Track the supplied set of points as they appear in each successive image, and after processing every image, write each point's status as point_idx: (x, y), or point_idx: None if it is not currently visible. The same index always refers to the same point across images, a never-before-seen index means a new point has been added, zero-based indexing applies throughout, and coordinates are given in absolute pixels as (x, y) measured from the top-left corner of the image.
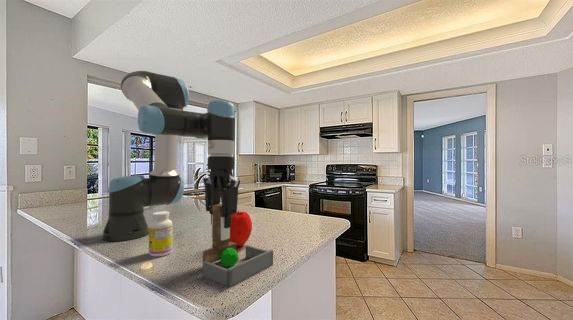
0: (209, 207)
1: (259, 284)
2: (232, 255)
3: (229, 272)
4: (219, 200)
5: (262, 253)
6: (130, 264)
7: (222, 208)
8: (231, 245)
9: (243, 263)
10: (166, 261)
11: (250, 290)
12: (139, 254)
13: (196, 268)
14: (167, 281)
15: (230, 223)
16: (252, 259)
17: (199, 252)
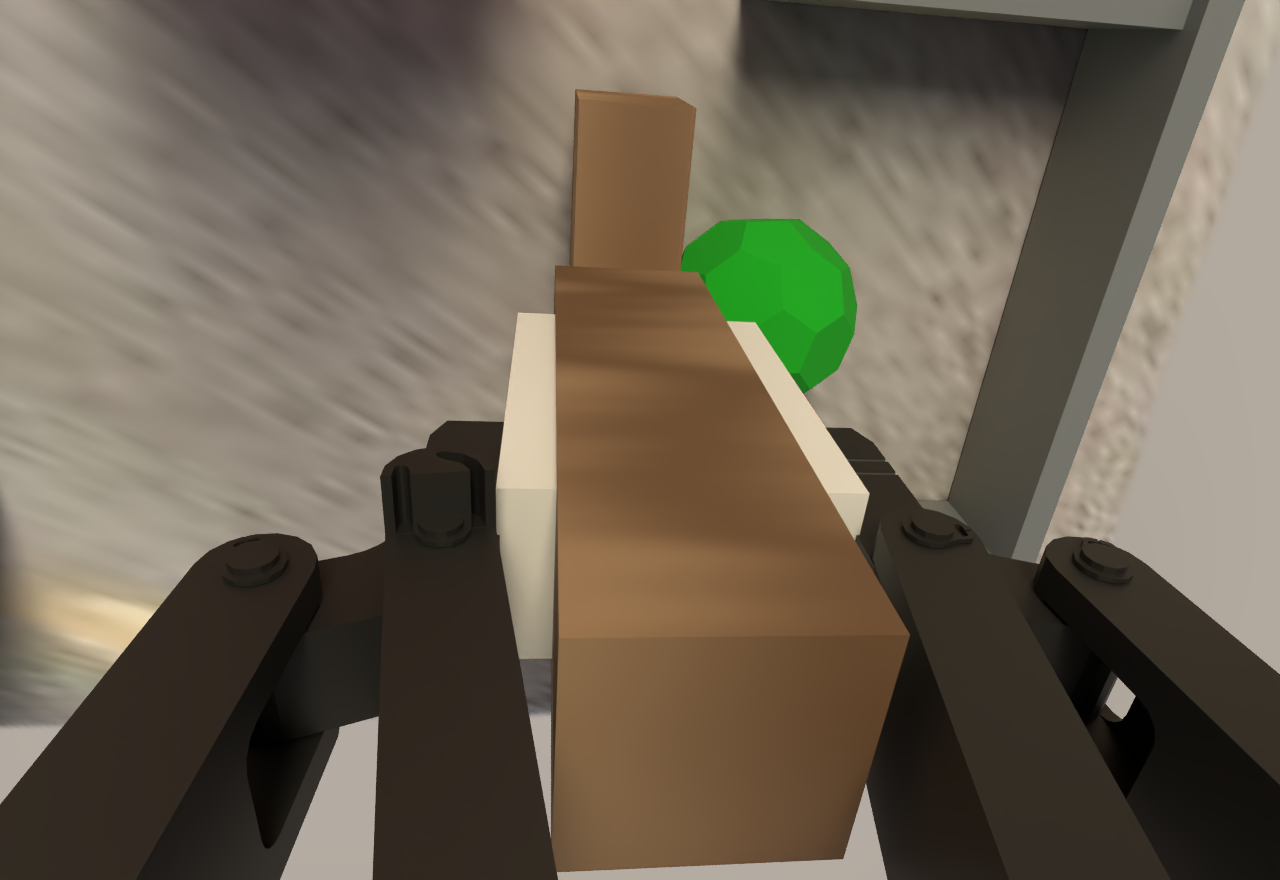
0: (320, 743)
1: (1138, 388)
2: (842, 357)
3: None
4: (541, 795)
5: (1150, 166)
6: (16, 692)
7: (879, 789)
8: (686, 204)
9: (1069, 463)
10: (161, 522)
11: (1110, 475)
12: None
13: None
14: (546, 670)
15: (885, 472)
16: (1110, 359)
17: (138, 193)
